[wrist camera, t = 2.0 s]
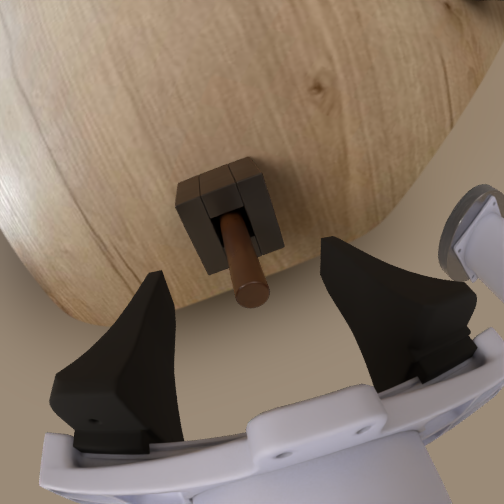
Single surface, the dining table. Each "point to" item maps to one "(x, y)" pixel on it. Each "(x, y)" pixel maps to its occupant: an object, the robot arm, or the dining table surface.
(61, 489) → the robot arm
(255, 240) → the stand
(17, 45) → the dining table surface
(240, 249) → the brown cylindrical rod
